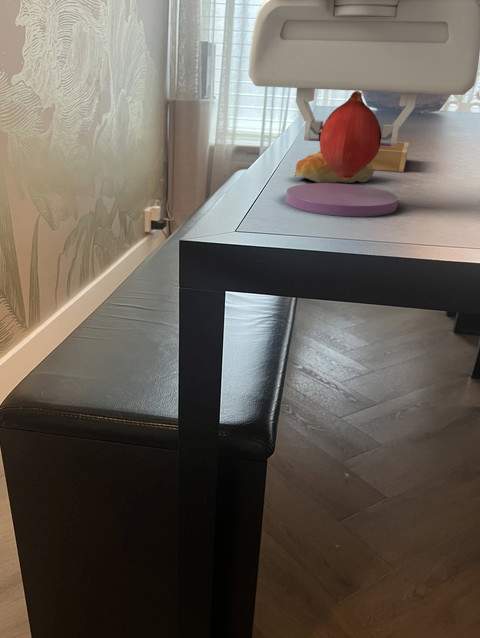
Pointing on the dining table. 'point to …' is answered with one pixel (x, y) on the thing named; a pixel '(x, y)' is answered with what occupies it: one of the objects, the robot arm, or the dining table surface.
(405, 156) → the tray
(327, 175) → the pastry
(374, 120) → the onion
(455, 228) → the dining table surface
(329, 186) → the lid
